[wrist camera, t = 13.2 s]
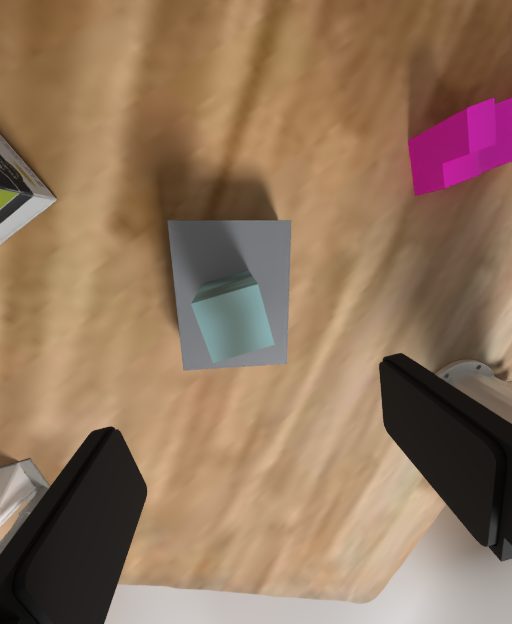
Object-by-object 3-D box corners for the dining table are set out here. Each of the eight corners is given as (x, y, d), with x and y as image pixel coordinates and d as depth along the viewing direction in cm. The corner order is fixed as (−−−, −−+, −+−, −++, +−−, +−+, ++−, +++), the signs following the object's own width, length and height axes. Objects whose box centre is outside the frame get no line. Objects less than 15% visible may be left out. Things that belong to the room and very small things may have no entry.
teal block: (249, 270, 25) (257, 284, 17) (261, 314, 26) (274, 344, 19) (202, 284, 25) (190, 303, 17) (217, 327, 26) (213, 363, 19)
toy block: (414, 196, 30) (471, 181, 23) (406, 141, 28) (466, 107, 21) (523, 153, 30) (614, 126, 23) (523, 96, 28) (622, 48, 21)
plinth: (278, 224, 30) (291, 220, 24) (276, 343, 34) (286, 363, 28) (179, 224, 28) (167, 220, 23) (191, 348, 33) (183, 370, 27)
